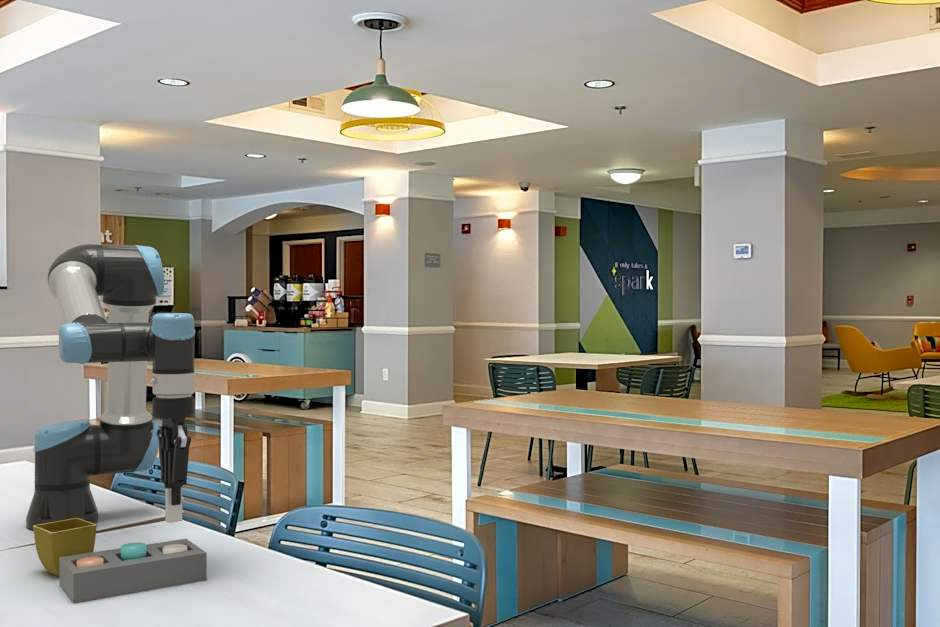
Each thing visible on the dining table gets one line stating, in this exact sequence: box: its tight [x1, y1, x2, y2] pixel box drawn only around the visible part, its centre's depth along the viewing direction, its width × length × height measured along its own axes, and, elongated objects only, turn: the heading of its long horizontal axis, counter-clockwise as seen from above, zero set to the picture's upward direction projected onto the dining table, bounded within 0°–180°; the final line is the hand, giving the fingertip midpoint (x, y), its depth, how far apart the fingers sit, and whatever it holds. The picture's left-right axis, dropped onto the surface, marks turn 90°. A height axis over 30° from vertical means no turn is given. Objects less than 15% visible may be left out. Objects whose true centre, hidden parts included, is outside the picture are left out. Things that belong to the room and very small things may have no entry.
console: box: [58, 538, 208, 604], centre depth 166 cm, size 12×23×5 cm, turn 125°
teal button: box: [120, 542, 147, 561], centre depth 166 cm, size 4×4×3 cm
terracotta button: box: [77, 557, 104, 568], centre depth 162 cm, size 4×4×3 cm
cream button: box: [163, 544, 187, 554], centre depth 170 cm, size 4×4×3 cm
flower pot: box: [32, 518, 98, 577], centre depth 173 cm, size 9×9×9 cm
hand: (173, 521), depth 170 cm, fingers closed
